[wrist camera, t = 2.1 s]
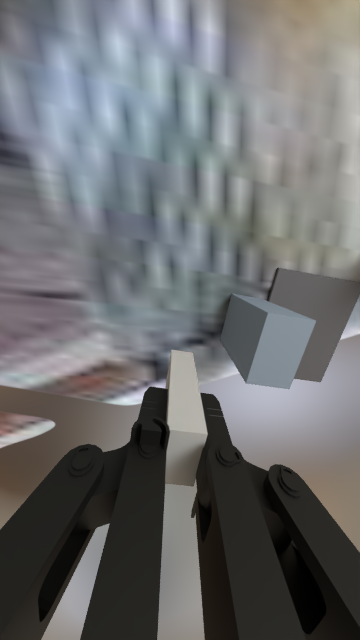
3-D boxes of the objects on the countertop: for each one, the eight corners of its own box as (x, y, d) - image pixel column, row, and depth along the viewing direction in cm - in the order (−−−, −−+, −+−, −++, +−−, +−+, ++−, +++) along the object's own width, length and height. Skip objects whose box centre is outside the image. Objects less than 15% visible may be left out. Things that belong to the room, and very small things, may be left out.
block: (220, 340, 32) (246, 383, 20) (231, 293, 29) (268, 312, 18) (248, 344, 32) (289, 389, 21) (261, 298, 30) (316, 320, 18)
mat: (246, 370, 34) (247, 372, 33) (277, 268, 28) (279, 268, 28) (318, 380, 35) (320, 382, 34) (361, 283, 30) (364, 283, 29)
